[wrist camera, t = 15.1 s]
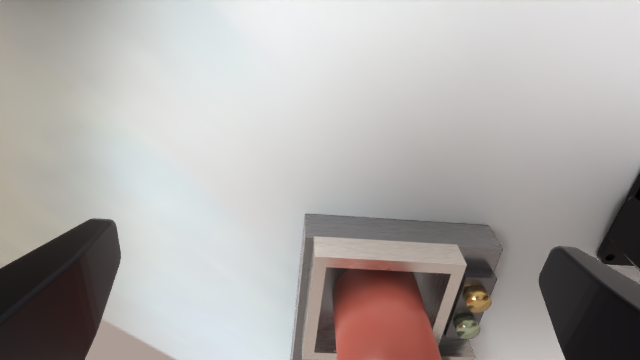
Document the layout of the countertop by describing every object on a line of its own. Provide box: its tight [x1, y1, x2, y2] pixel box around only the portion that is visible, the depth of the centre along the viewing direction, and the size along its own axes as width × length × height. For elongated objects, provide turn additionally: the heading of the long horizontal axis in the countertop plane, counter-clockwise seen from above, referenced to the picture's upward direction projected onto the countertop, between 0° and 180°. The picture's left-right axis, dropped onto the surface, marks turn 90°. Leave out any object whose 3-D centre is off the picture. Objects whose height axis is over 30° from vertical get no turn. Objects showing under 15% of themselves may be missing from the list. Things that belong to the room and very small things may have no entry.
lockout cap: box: [332, 269, 442, 360], centre depth 21 cm, size 5×5×6 cm
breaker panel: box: [290, 214, 502, 360], centre depth 25 cm, size 10×13×4 cm
